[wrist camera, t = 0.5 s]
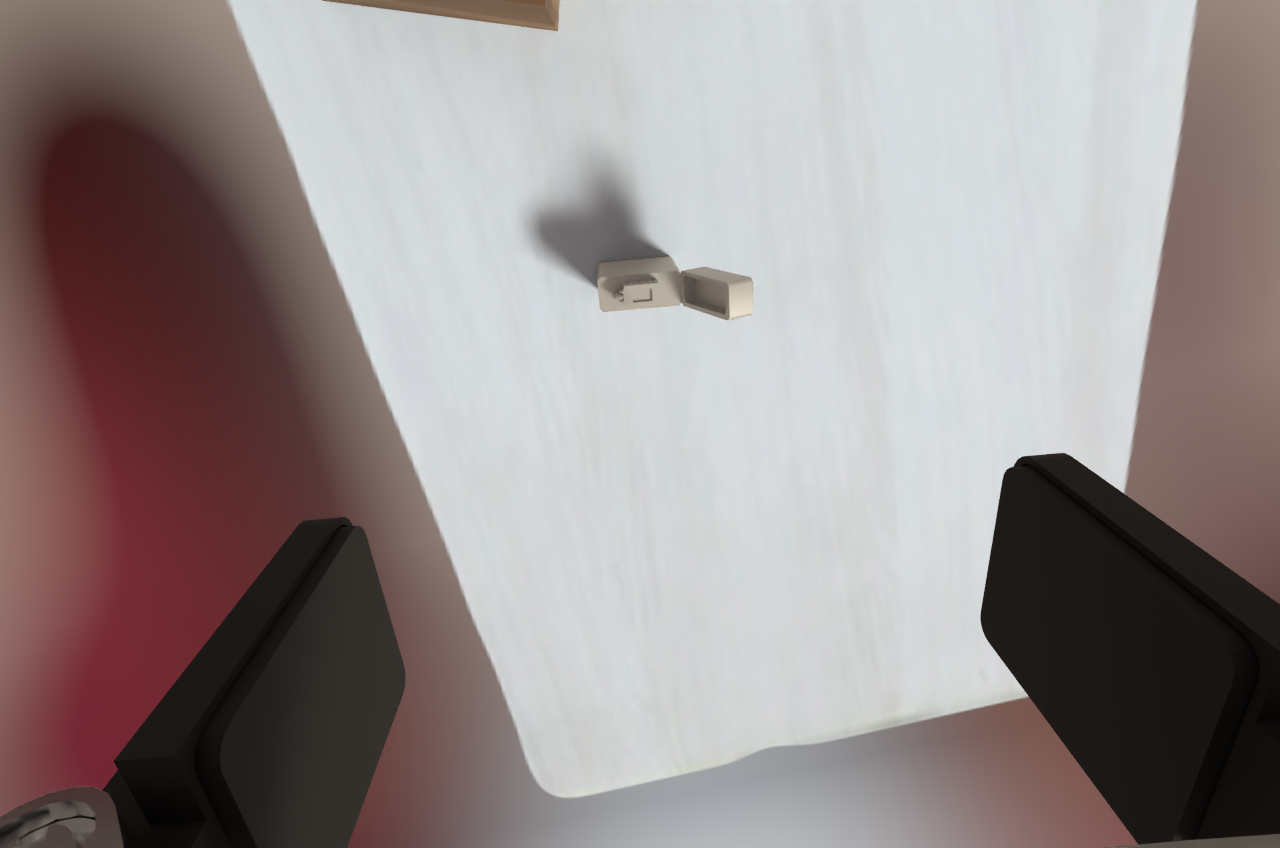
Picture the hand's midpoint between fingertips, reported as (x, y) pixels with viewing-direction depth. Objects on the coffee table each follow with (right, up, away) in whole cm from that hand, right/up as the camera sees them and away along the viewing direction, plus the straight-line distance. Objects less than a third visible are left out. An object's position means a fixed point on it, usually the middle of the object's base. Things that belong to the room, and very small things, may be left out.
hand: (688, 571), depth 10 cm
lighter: (+1, +11, +27) cm, 29 cm away
